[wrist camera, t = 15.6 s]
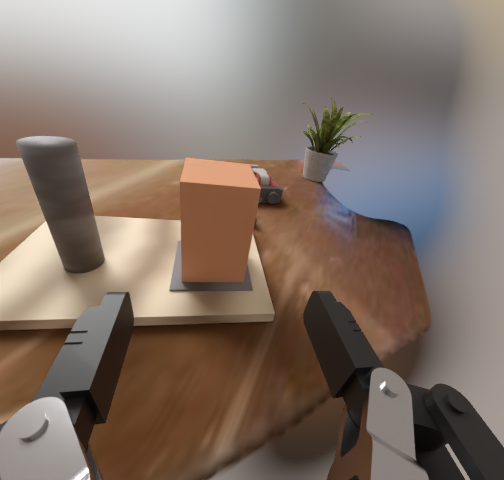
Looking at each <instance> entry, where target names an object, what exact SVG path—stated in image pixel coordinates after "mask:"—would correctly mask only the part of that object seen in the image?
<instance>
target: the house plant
mask: <svg viewBox="0 0 504 480" xmlns="http://www.w3.org/2000/svg"><path fill="white" fill-rule="evenodd" d="M309 110H310V109H309ZM342 110H343V107H342V108H341V109H340V110H339V112H338V113H337V108H336V104H335V102H334V111H333V103H332V114H331V119H330V114H329V112H328V108H327V107H325V110H324V115H323V120H322V126H321V128H320V130H319V125H318V121H317V118H316V115H315V113H314V115H315V117H314V115H313V113H312V111H311V110H310V112H311V113H312V116H313V119H314V122H315V126H316V129H317V133H318V134H316V133H315V132H314V131H313V129H312V128H311V127H310V126H309V125H307V127H308V130H309V132H310V133H311V135H312V137H313V140H314V142H315V146H313V140H312V138H311V136H310V135H309V134H308V133H309V132H308V133H307V132H305V131H301V132H303V133H304V134H306V135H307V137H308V138H309V139H310V141H311V143H312V146H307V147H306V152H305V161H304V169H303V177H304V178H306V179H308V180H311V181H315V182H323V181H324V180H325V178H326V176H327V175H328V173H329V170H330V169H331V167H332V165H333V163H334V161H335V159H336V157H337V155H338V154H337V153H336V152H334V151H332V150H333V149H334V148H335V147H337V146H339V145H340V144H341V143H344V142H346V140H348V139H350V138H353V137H358V136H353V137H350V138H347V137H345V136H340V135H341V134H342V133H343V132H345V131H346V130H347V129H348V128H349V127H351V126H352V125H354V124H356V123H358V122H365V121H358V122H355V123H353V124H352V125H350V126H349V127H347V129H345V130H344V131H343V132H342V133H341V134H340V135H339V136H340V137H339V136H338V137H337V138H335V139H333V138H334V136H335V135H336V134H337V133H338V132H339V131H340V130H341V129H342V128H343V127H344V126H345V125H346V124H348V123H349V122H350V121H351V120H353V119H354V118H357V117H359V116H361V115H366V114H359V115H356V114H353V115H356V116H354V117H353V118H351V117H352V116H353V115H350V116H349V117H348V115H349V114H350V113H351V112H347V113H345V114H344V115H343V116H342V117H341V118H340V116H341V113H342ZM370 115H371V114H370ZM315 118H316V119H315ZM339 118H340V119H339ZM349 118H351V119H349ZM316 121H317V123H316ZM317 125H318V127H317ZM341 138H347V139H346V140H342V139H341ZM332 139H333V140H332ZM339 140H342V142H341V143H336V142H338V141H339ZM350 140H351V141H352V139H350ZM334 144H336V146H335V147H334V148H332V149H331V150H330V148H331V147H332V146H333V145H334Z"/></svg>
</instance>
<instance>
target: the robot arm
mask: <svg viewBox="0 0 504 480" xmlns="http://www.w3.org/2000/svg"><path fill="white" fill-rule="evenodd" d="M303 319H304V324H305V327H306V330H307V332H308V335H309V337H310V340H311V343H312V345H313V348H314V350H315V353H316V355H317V358H318V361H319V363H320V366H321V368H322V371H323V373H324V376H325V379H326V381H327V384H328V386H329V389H330V391H331V394H332V397H333V398H339V397H343V399H344V401H345V403H346V404H345V405H344V408H343V414H342V420H341V426H340V431H339V438H338V443H337V449H336V454H335V459H334V462H333V464H332V466H331V469H330V471H329V474H328V477H327V480H465V479H464V477H463V475H462V474H461V472H460V470H459V469H458V467H457V465H456V463H455V462H454V460H453V458H452V457H451V455H450V453H449V452H448V450H447V448H446V447H445V445H446V444H447V443H448V444H449V445H450V447H451V448H452V450H453V452H454V453H455V455H456V456H457V458H458V460H459V462H460V463H461V465H462V466H463V468H464V470H465V471H466V473H467V475H468V476H469V478H470V480H504V447H503V446H502V445H501V443H500V442H499V441H498V439H497V438H496V437H495V435H494V434H493V433H492V431H491V430H490V429H489V427H488V426H487V425H486V423H485V422H484V421H483V420H482V418H481V417H480V415H479V414H478V413H477V411H476V410H475V409H474V408H473V406H472V405H471V403H470V402H469V401H468V400H467V399H466V398H465V397H464V396H463V395H462V394H461V393H460V392H458V391H457V390H455V389H454V388H452V387H450V386H448V385H445V384H436V385H434V386H433V387H432V388H431V389H430V390H428V389H424V388H421V387H417V386H414V385H410V384H407V383H405V382H404V381H403V380H402V379H401V378H400V377H399V376H398V375H397V374H395V373H394V372H392V371H391V370H389V369H386V368H384V366H383V365H382V363H381V362H380V360H379V359H378V357H377V355H376V354H375V352H374V350H373V349H372V347H371V345H370V344H369V342H368V340H367V339H366V337H365V335H364V334H363V332H361V329H360V327H359V325H358V324H357V323H356V320H355V319H354V317H353V315H352V314H351V312H350V311H349V310H348V309H347V308H346V307H345V306H344V305H343V304H342V303H341V302H337V301H336V299H335V298H334V296H333V294H332V293H331V292H330V291H313V292H312V294H311V296H310V299H309V301H308V303H307V306H306V308H305V311H304V315H303ZM133 326H134V314H133V309H132V303H131V298H130V294H129V292H107V293H106V294H105V296H104V298H103V300H102V302H101V304H100V306H90V307H89V308H88V309H87V310H86V311H85V312H83V313H82V314H81V315H80V316H79V317H78V318H77V320H76V322H75V324H74V326H73V328H72V330H71V333H70V334H69V335H68V337H67V339H66V341H65V344H64V346H62V348H61V350H60V352H59V354H58V356H57V358H56V359H55V361H54V363H53V365H52V367H51V369H50V371H49V372H48V374H47V376H46V378H45V380H44V382H43V384H42V386H41V387H40V389H39V391H38V393H37V394H36V396H35V397H34V398H33V400H32V401H31V402H30V403H29V404H27V405H26V406H24V407H23V408H21V409H20V410H19V411H18V412H16V413H15V414H14V415H13V416H12V417H11V418H10V419H9V420H8V421H6V422H4V423H2V424H0V480H103V477H102V474H101V472H100V469H99V467H98V464H97V461H96V459H95V456H94V454H93V451H92V448H91V446H90V443H89V439H90V436H91V433H92V430H93V427H94V424H101V423H106V419H107V416H108V412H109V409H110V406H111V402H112V399H113V395H114V392H115V389H116V385H117V382H118V378H119V375H120V372H121V368H122V365H123V362H124V358H125V355H126V351H127V348H128V345H129V341H130V338H131V334H132V331H133Z"/></svg>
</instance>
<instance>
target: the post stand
mask: <svg viewBox="0 0 504 480" xmlns="http://www.w3.org/2000/svg"><path fill="white" fill-rule="evenodd" d="M16 143H17V146H18V149H19V151H20V154H21V157H22V159H23V162H24V164H25V167H26V170H27V172H28V175H29V177H30V180H31V183H32V185H33V188H34V191H35V193H36V196H37V198H38V201H39V204H40V206H41V209H42V212H43V214H44V217H45V219H46V222H44V223H43V224H42V225H41V226H40V227H39V228H38V229H37V230H36V231H34V232H33V233H32V234H31V235H30V236H29V237H28V238H27V239H26V240H25V241H23V242H22V243H21V244H20V245H19V246H18V247H17V248H16V249H15V250H14V251H12V252H11V253H10V254H9V255H8V256H7V257H6V258H5V259H4V260H2V261H1V262H0V330H28V329H58V328H73V326H74V324H75V322H76V320H77V318H78V317H79V316H80V315H81V314H82V313H83V312H85V311H86V310H87V309H88V308H89V307H90V306H100V304H101V302H102V300H103V298H104V296H105V294H106V293H107V292H129V294H130V298H131V303H132V309H133V314H134V326H148V325H178V324H208V323H238V322H268V321H273V318H274V315H275V312H274V308H273V305H272V301H271V297H270V294H269V290H268V287H267V283H266V279H265V276H264V272H263V269H262V265H261V262H260V258H259V254H258V251H257V247H256V244H255V240H254V236H253V235H252V240H251V245H250V251H249V256H248V261H247V267H246V272H245V277H244V282H182V271H181V221H177V220H159V219H142V218H124V217H106V216H94V212H93V208H92V204H91V200H90V196H89V192H88V188H87V184H86V180H85V176H84V172H83V168H82V163H81V159H80V156H79V151H78V147H77V143H76V142H75V141H74V140H72V139H69V138H63V137H54V136H36V137H27V138H22V139H19V140H17V141H16Z"/></svg>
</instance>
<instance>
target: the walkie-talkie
mask: <svg viewBox="0 0 504 480" xmlns="http://www.w3.org/2000/svg"><path fill="white" fill-rule="evenodd" d="M250 166H251V168H252V171H253V173H254V175H255V177H256V179H257V181H258V183H259V185H260V188H261V192H260V197H259V202H258V203H270V204H275V203H280V200H281V195H282V191H283V189H282V188H281V187H280V186H279V185H278V184H277V183H276V182H275V181H274V180H273V179H272V178H271V176H270V175H269V174H268V173H267V172H266V171H265V170H264V169H262V168H260V167H259V166H258V165H250ZM255 222H256V219H255Z"/></svg>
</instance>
